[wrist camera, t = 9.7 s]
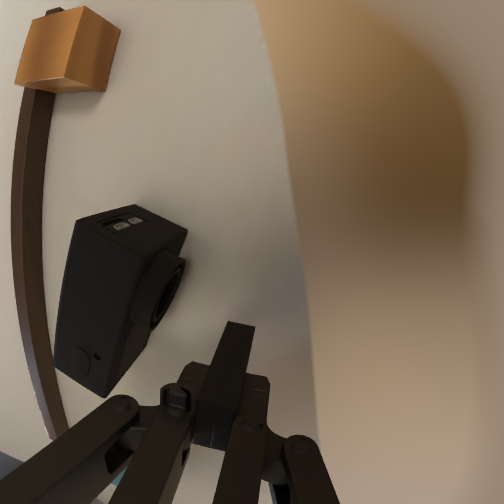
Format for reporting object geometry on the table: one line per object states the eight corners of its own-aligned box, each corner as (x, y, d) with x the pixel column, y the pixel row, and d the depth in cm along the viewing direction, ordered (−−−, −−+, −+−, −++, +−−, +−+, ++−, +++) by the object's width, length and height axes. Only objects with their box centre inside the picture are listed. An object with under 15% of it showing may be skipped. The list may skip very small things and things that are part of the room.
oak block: (120, 29, 18) (84, 5, 13) (105, 91, 19) (63, 77, 14) (70, 37, 18) (32, 19, 13) (56, 93, 19) (13, 84, 15)
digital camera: (158, 355, 24) (120, 411, 17) (100, 323, 24) (51, 367, 17) (205, 237, 21) (166, 269, 14) (135, 203, 21) (74, 220, 14)
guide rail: (76, 16, 18) (59, 6, 15) (69, 430, 29) (59, 443, 26) (63, 19, 18) (46, 10, 15) (59, 425, 29) (49, 438, 26)
